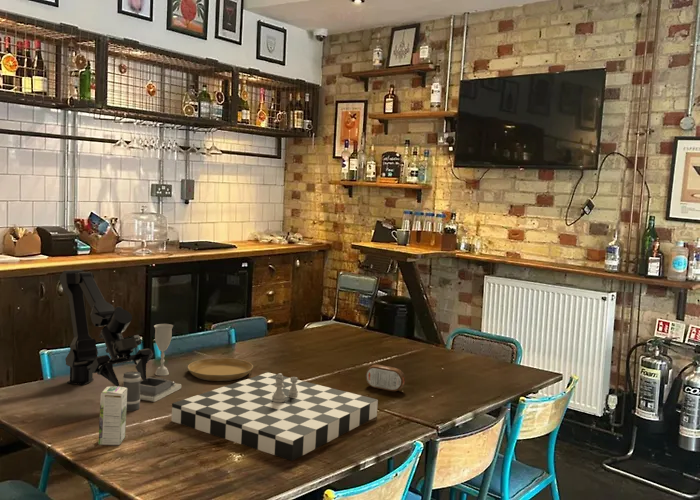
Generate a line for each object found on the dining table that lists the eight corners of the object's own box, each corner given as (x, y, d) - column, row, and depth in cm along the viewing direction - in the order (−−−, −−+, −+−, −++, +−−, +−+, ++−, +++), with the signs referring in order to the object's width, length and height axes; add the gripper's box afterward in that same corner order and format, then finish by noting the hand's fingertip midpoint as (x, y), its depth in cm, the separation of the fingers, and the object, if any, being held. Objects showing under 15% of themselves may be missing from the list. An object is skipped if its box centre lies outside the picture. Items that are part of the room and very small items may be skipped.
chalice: (165, 377, 240) (167, 328, 238) (148, 375, 241) (150, 326, 240) (175, 372, 247) (176, 324, 246) (158, 370, 249) (159, 323, 247)
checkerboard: (292, 462, 174) (294, 408, 172) (171, 422, 197) (173, 374, 196) (376, 417, 212) (379, 372, 210) (267, 388, 235) (269, 348, 234)
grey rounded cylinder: (119, 410, 204) (120, 375, 203) (127, 404, 209) (127, 370, 208) (135, 411, 203) (136, 376, 202) (142, 406, 208) (143, 372, 207)
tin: (404, 391, 240) (406, 369, 239) (401, 393, 237) (403, 371, 236) (367, 384, 246) (368, 362, 245) (363, 386, 243) (364, 364, 242)
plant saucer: (174, 377, 242) (174, 368, 242) (211, 362, 265) (211, 354, 264) (230, 387, 233) (230, 378, 233) (264, 371, 256) (264, 363, 255)
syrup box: (104, 437, 182) (105, 385, 181) (126, 437, 183) (127, 386, 181) (98, 445, 176) (99, 392, 175) (120, 445, 177) (122, 393, 176)
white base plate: (125, 396, 216) (125, 384, 216) (153, 383, 232) (153, 372, 231) (154, 401, 213) (154, 389, 213) (181, 388, 228) (181, 377, 228)
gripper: (95, 330, 201) (113, 374, 194) (150, 324, 214) (168, 364, 208) (83, 351, 206) (99, 394, 200) (137, 343, 220) (154, 383, 214)
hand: (131, 383), depth 205 cm, fingers open, 9 cm apart
